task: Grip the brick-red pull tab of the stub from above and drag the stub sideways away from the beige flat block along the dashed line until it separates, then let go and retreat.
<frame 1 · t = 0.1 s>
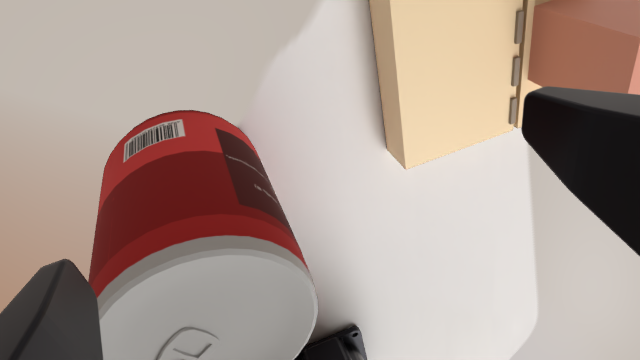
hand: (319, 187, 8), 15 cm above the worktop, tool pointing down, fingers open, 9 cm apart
canned food: (183, 172, 24), on the worktop
stub: (583, 45, 22), point 4 cm above the worktop, slide at 0.0 cm
beige flat block: (435, 54, 25), on the worktop
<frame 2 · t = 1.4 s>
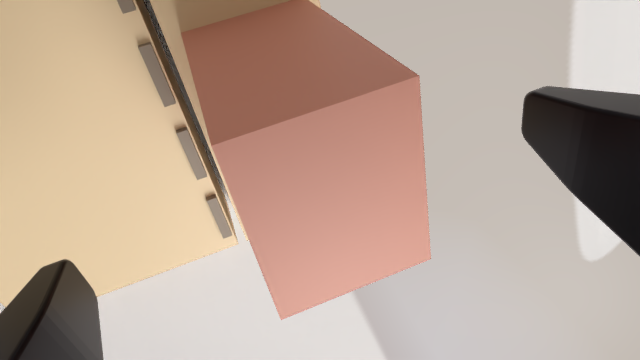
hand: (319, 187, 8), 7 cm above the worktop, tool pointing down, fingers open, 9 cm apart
stub: (280, 113, 11), point 4 cm above the worktop, slide at 0.0 cm
beige flat block: (62, 117, 13), on the worktop
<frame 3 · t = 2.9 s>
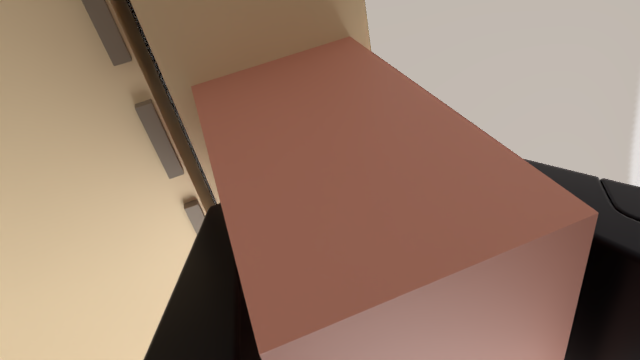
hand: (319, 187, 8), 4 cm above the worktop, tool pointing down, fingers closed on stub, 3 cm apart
stub: (322, 192, 8), point 4 cm above the worktop, slide at 0.0 cm, touching gripper
beige flat block: (41, 180, 11), on the worktop
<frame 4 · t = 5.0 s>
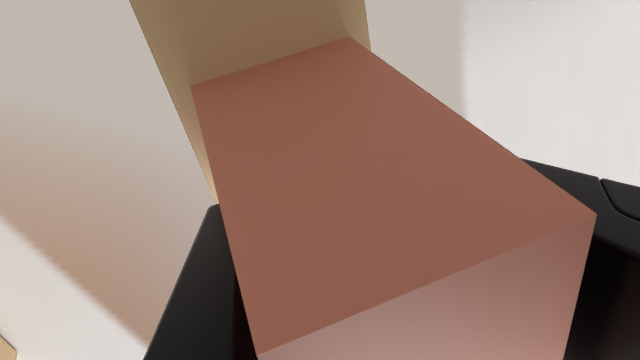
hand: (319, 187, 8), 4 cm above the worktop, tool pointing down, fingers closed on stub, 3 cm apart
stub: (322, 192, 8), point 4 cm above the worktop, slide at 6.9 cm, touching gripper
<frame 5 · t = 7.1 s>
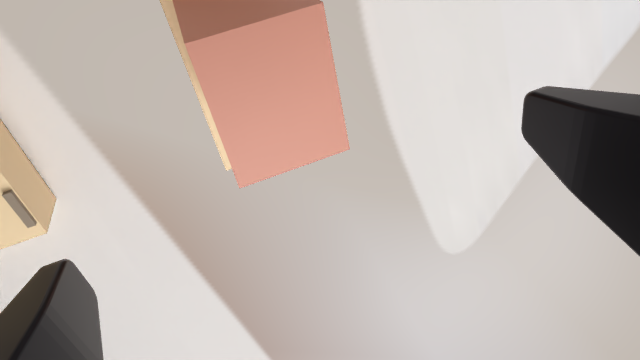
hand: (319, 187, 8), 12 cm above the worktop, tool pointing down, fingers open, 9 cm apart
stub: (245, 53, 14), point 4 cm above the worktop, slide at 6.9 cm
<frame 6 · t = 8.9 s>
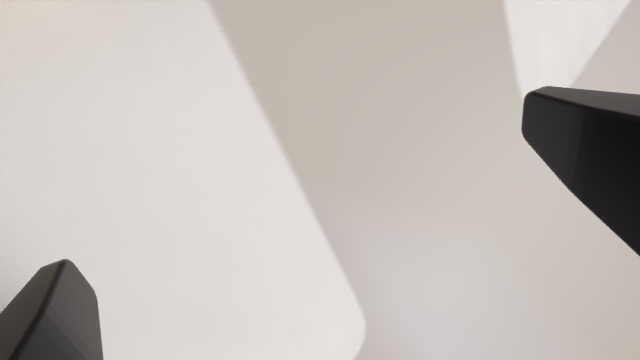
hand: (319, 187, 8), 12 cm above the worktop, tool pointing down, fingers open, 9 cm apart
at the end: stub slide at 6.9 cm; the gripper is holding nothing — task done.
